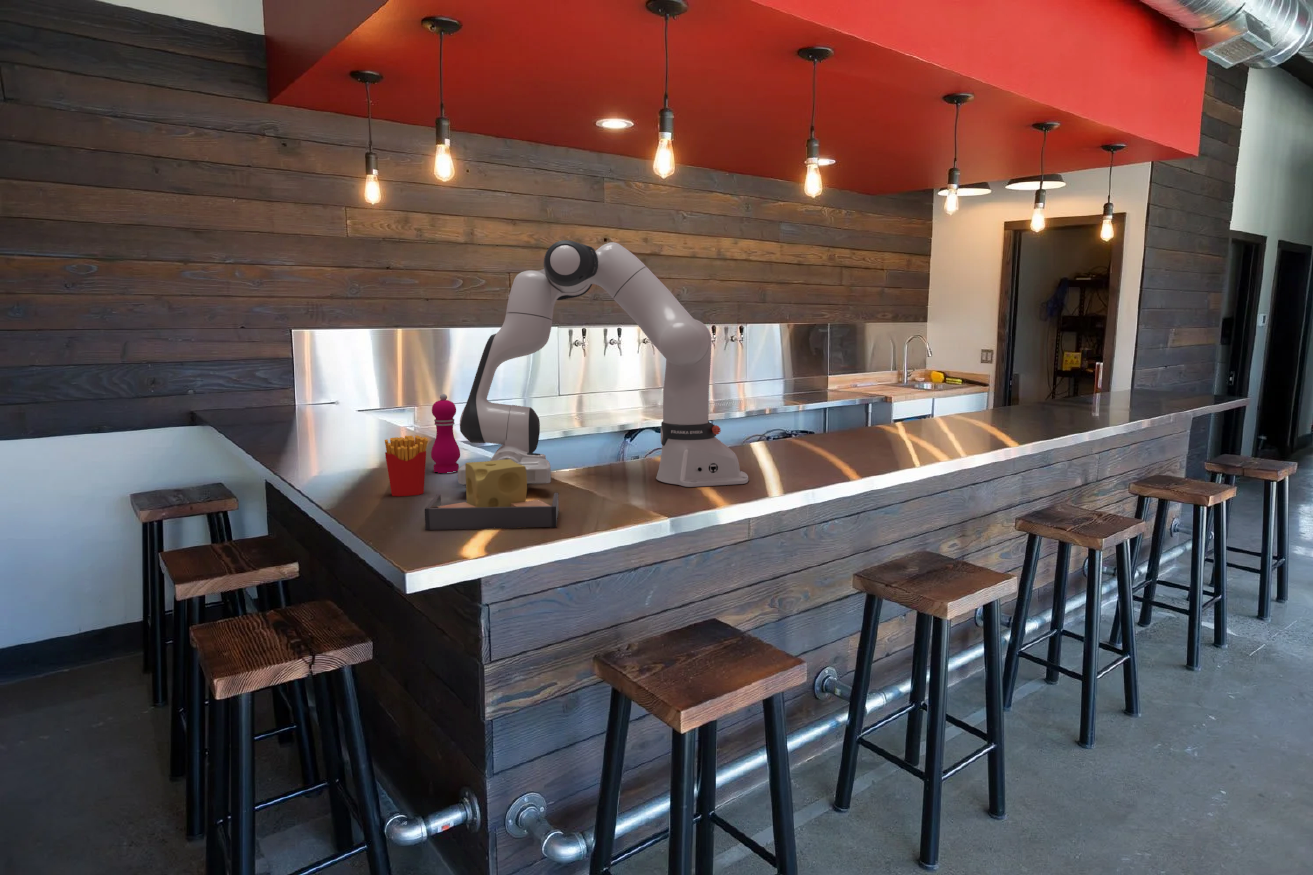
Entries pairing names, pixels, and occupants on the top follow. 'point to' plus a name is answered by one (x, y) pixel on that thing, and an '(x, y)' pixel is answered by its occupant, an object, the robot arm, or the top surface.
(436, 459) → the pepper mill
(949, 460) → the top surface
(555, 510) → the box
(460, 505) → the tile
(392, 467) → the french fries
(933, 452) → the top surface
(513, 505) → the tile
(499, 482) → the cheese
